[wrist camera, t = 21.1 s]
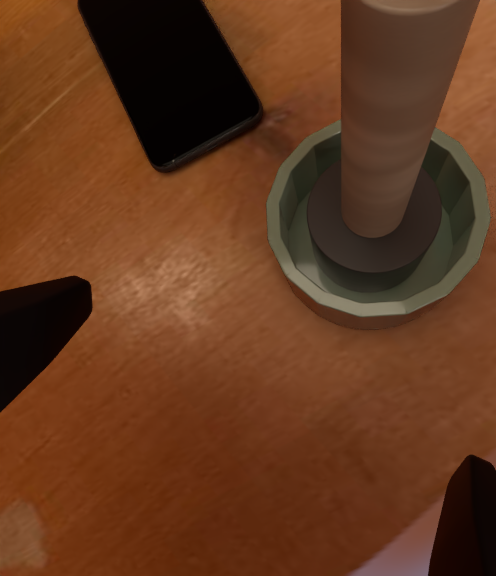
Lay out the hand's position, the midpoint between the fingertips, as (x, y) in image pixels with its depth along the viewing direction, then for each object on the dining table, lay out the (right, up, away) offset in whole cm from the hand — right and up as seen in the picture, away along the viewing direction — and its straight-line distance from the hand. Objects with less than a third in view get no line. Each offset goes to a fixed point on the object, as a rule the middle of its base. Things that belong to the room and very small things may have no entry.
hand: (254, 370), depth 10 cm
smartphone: (-5, +16, +19) cm, 25 cm away
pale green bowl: (+6, +4, +14) cm, 16 cm away
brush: (+6, +4, +13) cm, 15 cm away
